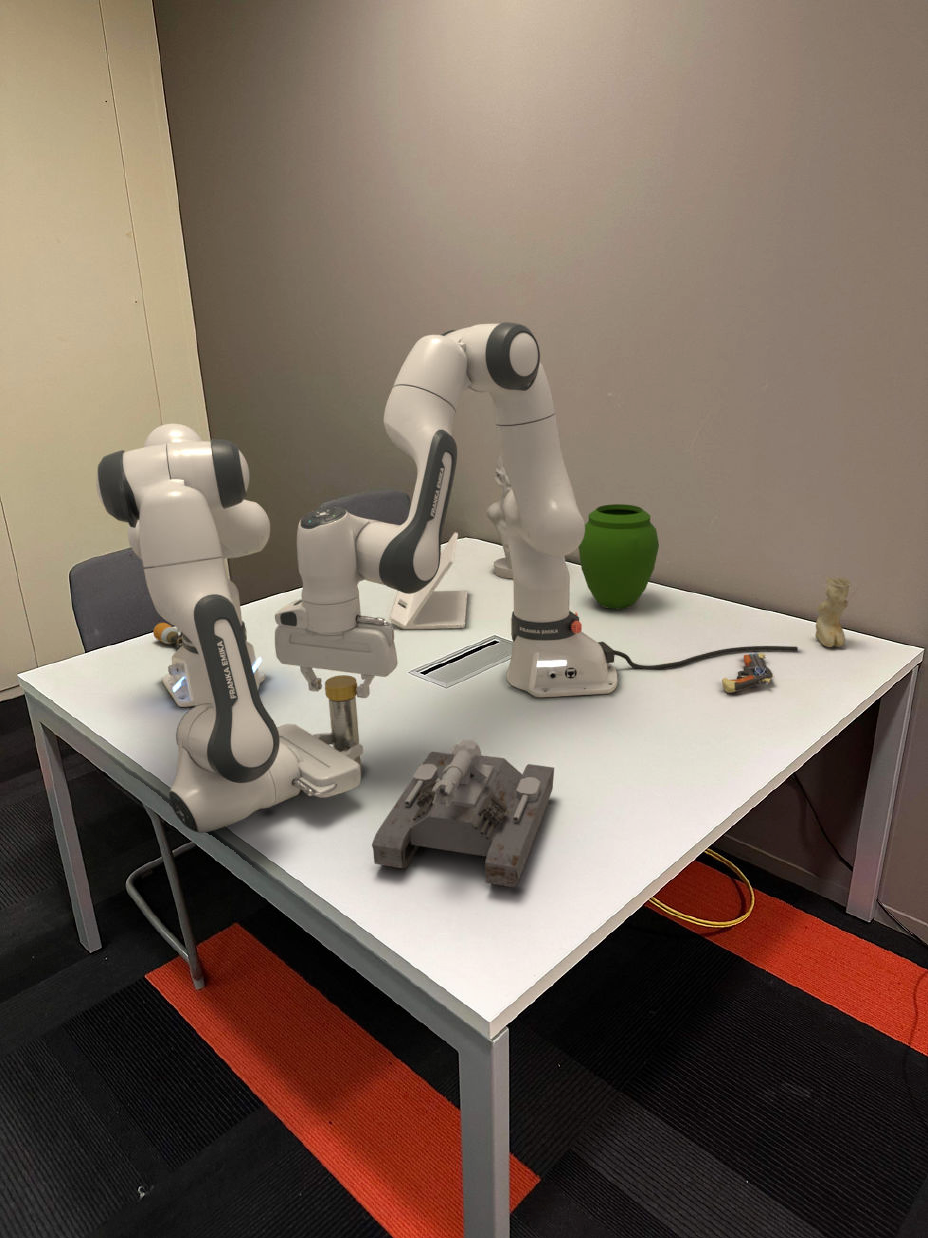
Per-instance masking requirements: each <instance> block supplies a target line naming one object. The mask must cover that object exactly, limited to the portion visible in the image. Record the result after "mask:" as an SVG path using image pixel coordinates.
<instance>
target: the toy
mask: <svg viewBox="0 0 928 1238" xmlns="http://www.w3.org/2000/svg"><path fill="white" fill-rule="evenodd" d="M554 776H555V767H553V766H546V765H539V764H530V763H528V764H527V765H526V766H525V768H524V770H523V772H522V773H521V772H520V771H519V770H518V769H517V768H516V767H514V766H513V765H512V764H511V763H510V762H509V761H508V760H507V759H506V758H505V757H499V756H497V757H496V756H492V755H491V756H490V755H482V751H481V747H480V746H479V744H478V743H477V742H475V741H474V740H473V739H472V740H471V739H462V740H460V741H459V742H457V743H456V744H455V745H454V746H453V748H452V752H451V753H445V752H438V751H431V752H429V754H427V756H426V758H425V759H424V761H423V762H422V764H421V765H419V766H418V767H417V769H416V770H415V772H414V773H413V775H412V779H411V780H410V782H409V783H408V785H407V786H406V788H405V789H404V791H403V792H402V794H401V795H400V797H399V798H398V800H396V803H395V804H394V805H393V807H392V809H391V810H390V812H389V813H388V815H387V816H386V817H385V819H384V820H383V822H382V823H381V825H380V827H379V829H377V831H376V833H375V835H374V838H373V840H372V843H371V847H372V851H373V852H372V853H373V862H374V864H375V865H380V866H386V867H393V868H398V869H407V868H408V867H409V864H410V863H411V861H412V860H413V858H414V856H415V855H416V853H417V851H418V850H419V847H424V848H429V849H430V848H431V849H437V850H443V851H450V852H456V853H462V854H467V855H475V856H480V857H481V856H482V857H486V858H485V862H484V869H485V871H484V873H485V883H486V884H492V885H499V886H505V887H511V888H516V886H518V884H519V881H520V879H521V875H522V873H523V870H524V868H525V865H526V863H527V859H528V857H529V855H530V852H531V849H532V846H533V844H534V842H535V838H536V836H537V833H538V830H539V828H540V825H541V822H542V820H543V817H544V814H545V812H546V809H547V806H548V804H549V801H550V798H551V795H552V792H553V789H554Z"/></svg>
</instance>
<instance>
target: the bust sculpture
mask: <svg viewBox="0 0 928 1238" xmlns="http://www.w3.org/2000/svg"><path fill="white" fill-rule="evenodd" d="M494 480H495V482H496V484H497V486H498V487H501V488H502V494H501V497H500V499H499V501H496V502H494V503H492V504H491V505H490V506H488V508H487V509H486V513H485V514H486V517H487V518H488V519H489V520H490V522H491V523H492V524H493V526H494V527H495V529H496V532H497V534H498V537H499V540H500V542H501V546H502V548H503V553H504V557H502V558H498V559H496V560H495V561H494V562H493V573H494V574H495V575H496V576H497V577H500V578H506V579H513V570H512V563H511V557H510V551H509V544H508V536H507V527H506V521H505V517H504V513H503V503H504V500H505V497H506V495H507V494H508V493H509V491H510V490H511V489H512V488H511V485H510V482H509V479H508V476H507V473H506V471H505V469H504V466H503V463H502V457H501V454H500V455H499V457H498V459H497V461H496V468H495V471H494Z"/></svg>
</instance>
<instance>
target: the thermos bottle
mask: <svg viewBox="0 0 928 1238" xmlns="http://www.w3.org/2000/svg"><path fill="white" fill-rule="evenodd" d="M356 697H357V695H356V696H355V697H353V698H351V699H348V700H343V701H335V700H330V699H328V709H329V719H330V729H331V732H332V742H333V744H332V747H333V748H334V749H336V750H337V751H339V752H342V751H345V752H347V751H348V750H349V745H351V744H354V743H355V742H357V743H359V744H360V734H359V733H360V732H359V721H358V709H357V698H356ZM354 761H355V762H357V763H358V764H359V765H360V771H361V772H362V759H361V755H360V756H358V757H356V758H355V759H354Z"/></svg>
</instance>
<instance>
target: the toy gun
mask: <svg viewBox="0 0 928 1238" xmlns="http://www.w3.org/2000/svg"><path fill="white" fill-rule="evenodd" d="M765 659H766V654H765V653H763V652H759V653H758V652H755V653H749V654H744V655H743V663H744V665H745V666H743V670H739V671H737V676H736V678H735V679H734V678H733V679H729V678H727V677H723V678H721V682H722V683H721V684H722V688H723V689H724V691H725V692H726V693H729V694H730V693H735V692H738V691H742V690H746V689H749V688H751V687H756V686H758V685H760V684H762V683H767V684H769V683H770V681H771V679H774V678H775V676H774V675H773V671H772V670H771V669H770V668H769V667H768V665H767V663H766V662H765Z"/></svg>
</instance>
